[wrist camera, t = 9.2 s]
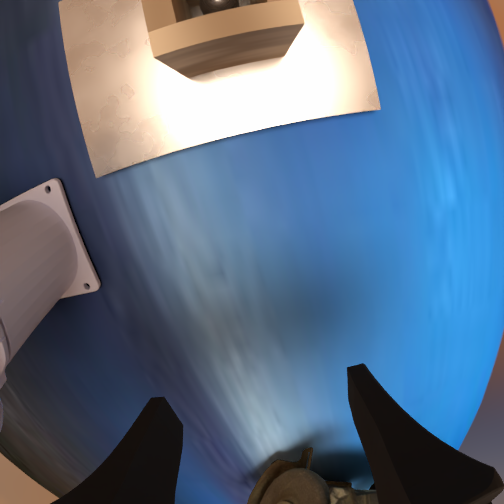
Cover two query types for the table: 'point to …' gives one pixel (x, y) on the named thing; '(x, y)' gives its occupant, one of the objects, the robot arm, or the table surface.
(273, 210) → the table surface
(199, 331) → the table surface
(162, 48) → the hollow square block
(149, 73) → the base plate
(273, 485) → the bench grinder
